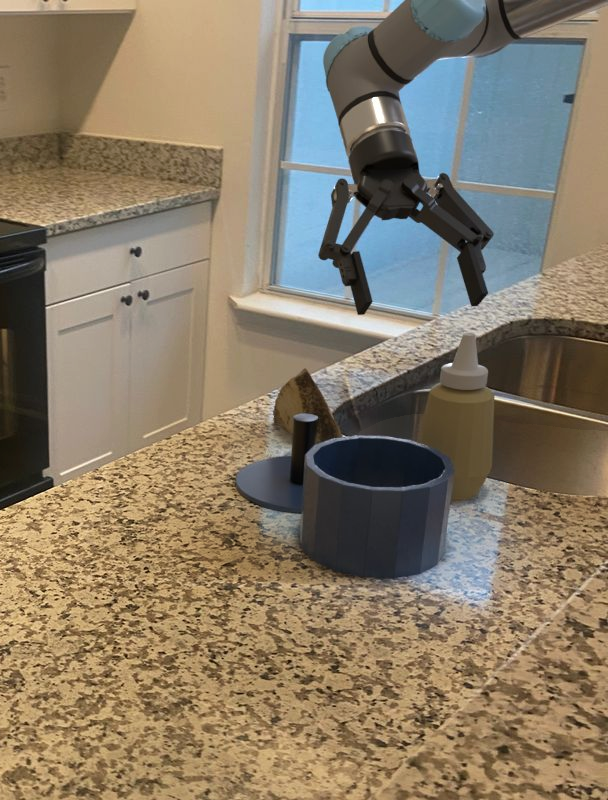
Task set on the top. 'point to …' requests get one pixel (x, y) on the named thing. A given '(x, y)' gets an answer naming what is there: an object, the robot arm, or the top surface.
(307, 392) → the rock
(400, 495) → the pot
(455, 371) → the squeeze bottle
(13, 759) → the top surface
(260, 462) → the pot lid
